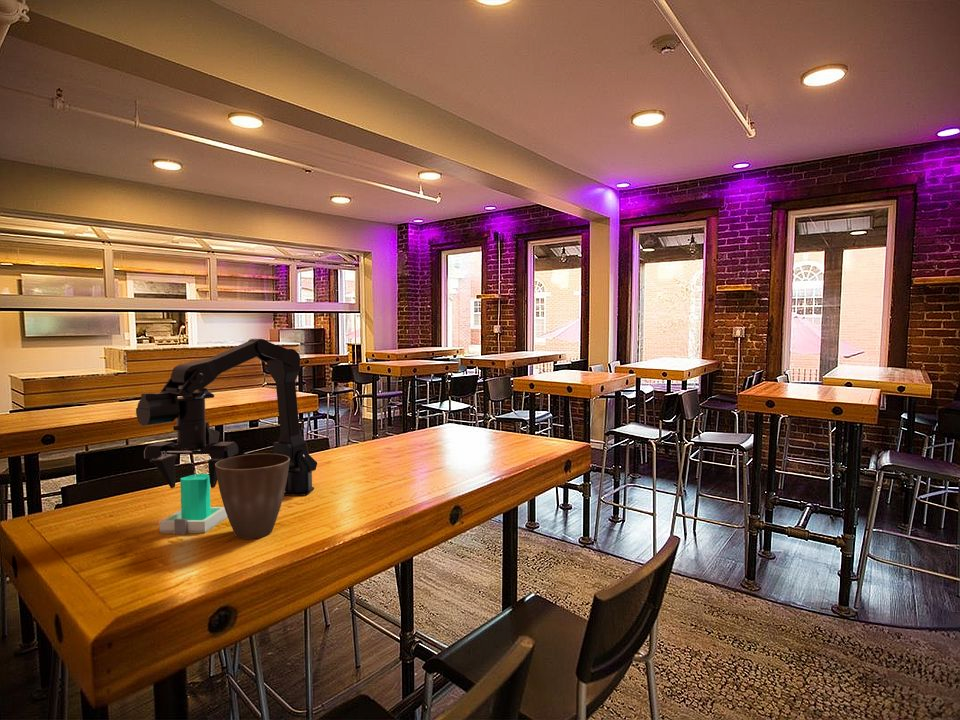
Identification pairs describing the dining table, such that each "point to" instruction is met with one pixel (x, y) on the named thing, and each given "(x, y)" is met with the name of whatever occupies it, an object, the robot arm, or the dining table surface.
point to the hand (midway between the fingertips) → (193, 487)
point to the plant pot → (252, 491)
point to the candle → (195, 497)
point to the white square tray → (192, 522)
